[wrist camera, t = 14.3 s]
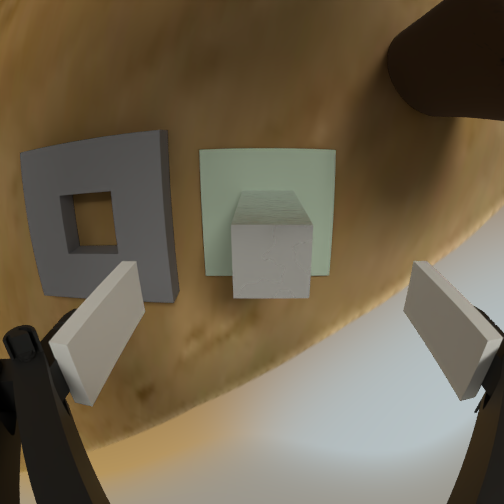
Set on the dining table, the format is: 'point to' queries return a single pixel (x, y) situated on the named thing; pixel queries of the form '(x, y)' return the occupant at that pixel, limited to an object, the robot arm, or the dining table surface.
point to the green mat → (265, 178)
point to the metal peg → (271, 246)
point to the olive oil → (453, 60)
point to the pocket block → (124, 212)
